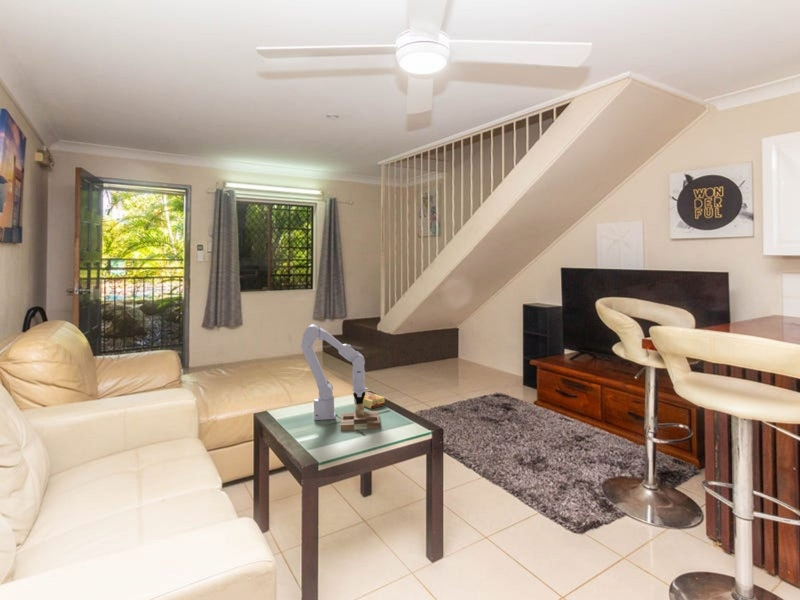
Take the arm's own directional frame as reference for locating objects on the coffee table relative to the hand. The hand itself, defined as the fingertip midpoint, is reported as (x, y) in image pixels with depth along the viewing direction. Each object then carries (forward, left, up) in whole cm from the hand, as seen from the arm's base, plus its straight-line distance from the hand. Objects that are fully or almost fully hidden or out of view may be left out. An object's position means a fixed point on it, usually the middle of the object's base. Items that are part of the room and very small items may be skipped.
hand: (359, 407), depth 202 cm
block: (0, -5, -1) cm, 6 cm away
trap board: (0, -11, -3) cm, 12 cm away
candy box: (+9, +9, -1) cm, 13 cm away
